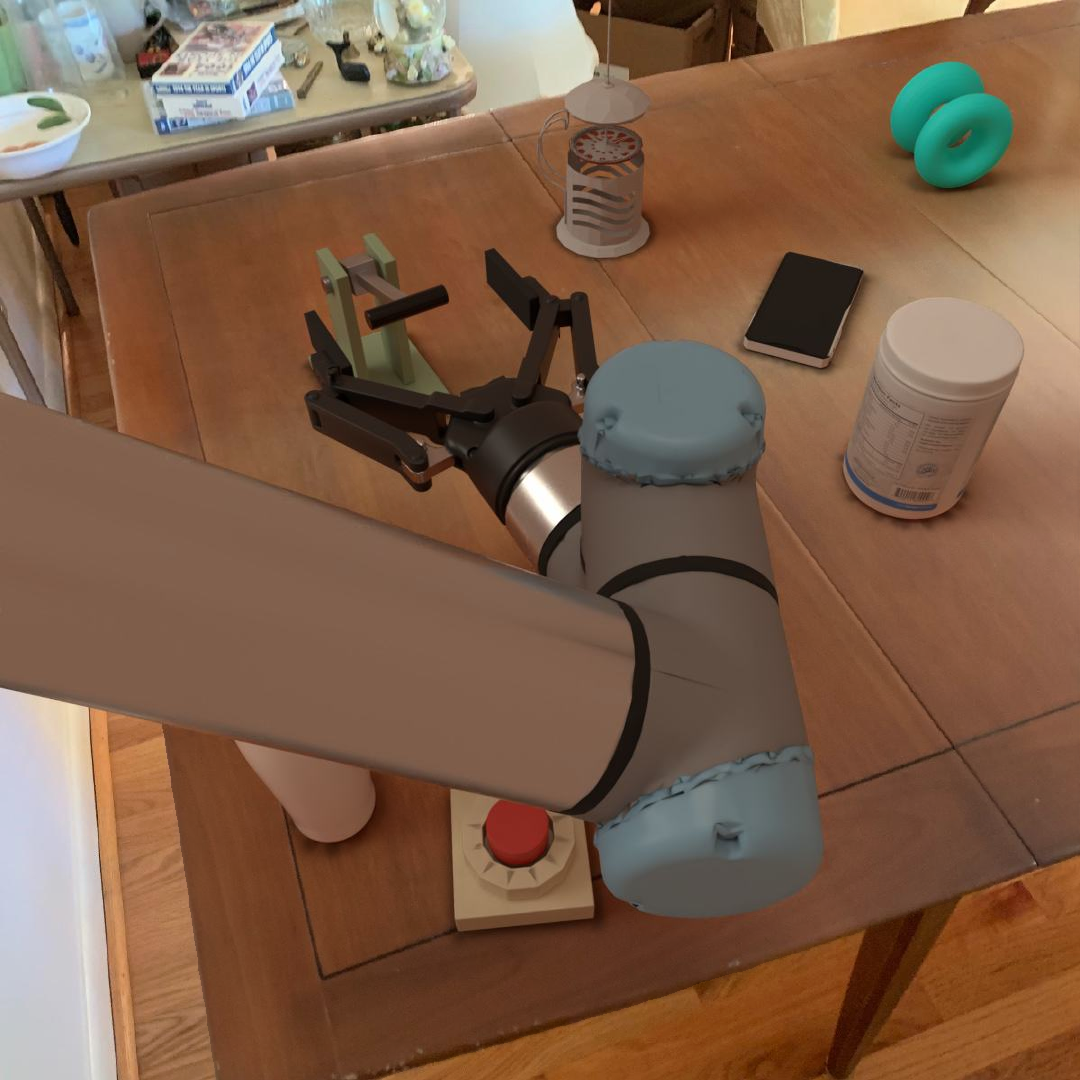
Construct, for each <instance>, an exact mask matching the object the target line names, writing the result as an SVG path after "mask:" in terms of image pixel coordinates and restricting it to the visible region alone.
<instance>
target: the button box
mask: <svg viewBox="0 0 1080 1080" xmlns="http://www.w3.org/2000/svg"><path fill="white" fill-rule="evenodd" d="M449 795H450V800H449V801H450V825H451V852H452V853H451V855H452V879H453V880H452V881H453V883H452V884H453V908H454V909H453V910H454V911H453V912H454V922H455V925H456V929H457V932H469V931H478V930H487V929H497V928H499V929H500V928H508V927H518V926H529V925H536V924H538V925H539V924H548V923H558V922H568V921H577V920H588V919H593V918H594V916H595V900H594V891H593V890H594V889H593V883H592V874H591V866H590V859H589V850H588V843H587V835H586V834H587V833H586V827H585V821H584V820H580V819H577V818H574V817H571V816H568V815H564V814H560V813H555V812H551V811H548V810H545V811H546V813H547V815H548V820H549V841H548V845H547V847H546V849H545V851H544V852H543V853H542V855H541V856H540V857H539V858H537V859H536V860H534V861H533V862H531V863H528V864H525V865H511V864H507V863H505V862H503V861H501V860H500V859H498V858H497V857H496V856H495V855H494V854H493V852H492V851H491V849H490V846H489V843H488V838H487V832H486V819H487V816H488V813H489V811H490V810H491V808H492V807H493V806H494V804H496V803H497V802H498V801H499V800H501V799H497V798H492V797H488V796H483V795H479V794H474V793H470V792H465V791H461V790H456V789H452V788H449Z"/></svg>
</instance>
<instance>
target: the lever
mask: <svg viewBox="0 0 1080 1080" xmlns="http://www.w3.org/2000/svg"><path fill="white" fill-rule="evenodd" d="M337 261H338V263H339V264H340V265H341V267H342V268H343V269H344V271H345V272H346V273H347V275H348V278H349V282H350V287H351V292H352V296H354V297H356V298H357V297H359V296H363V295H366V294H371V295H372V296H373V297H374V296H375V297H376V298H378V299H379V300H381V301H382V302H384V303H385V304H383V305H380V306H377V307H376V306H374V307H372V308H371V307H370V308H369V309H366V310H364V312H363V313H364V314H363V315H364V319H365V322H366V324H367V326H368V328H369V329H370V330H371V331H375V330H379V329H380V328H381V327H384V326H387V325H389V324H392V323H395V322H398V321H401V320H404V319H405V320H406V319H410V318H412V317H415V316H417V315H420V314H423V313H426V312H429V311H432V310H434V309H438V308H440V307H443V306H446V305H448V304H449V303H450V297H449V292H448V290H447V288H446V286H445V285H444V284H443V283H442V284H441V283H440V284H436V285H435V286H432V287H429V288H426V289H423V290H421V291H417V292H415V293H412V294H409V295H408V294H406V293H405V292H403V291H402V290H401V289H400V290H401V291H400V290H399V289H397V288H396V287H394V286H392V285H391V284H389V283H388V282H386V281H385V280H383V279H382V278H380V277H379V276H378V274H377V271H376V267H375V264H374V260H373V259H372V258H370V257H369V256H367V255H366V253H365V252H359V253H356V254H353V255H350V256H346V257H343V258H340V259H337Z"/></svg>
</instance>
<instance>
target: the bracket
mask: <svg viewBox="0 0 1080 1080" xmlns="http://www.w3.org/2000/svg"><path fill="white" fill-rule="evenodd" d="M362 240H363V244H364V245H363V246H364V250H365V254H366V255H367V256H369V257H370V258H372V259H373V260H374V264H375V267H376V271H377V274H378V276H379V277H380V278H382V279H383V280H385V281H386V282H388V283H389V284H391V285H392V286H394V287H396V288H397V289H399V290H400V291H402V290H401V285H400V279H399V271H398V266H397V260H396V258H395V257H394V256H393V255H392V253H391V252H390V251H389V250H388V248H387V247H386V246H385V244H384V243H383V242H382V241H381V240H380V237H379V236H378V235H377V234H376V233H375V232H370V233H367V234H364V235H362ZM315 254H316V258H317V263H318V268H319V272H320V275H321V277H320V283H321V286H322V289H323V292H324V294H325V297H326V301H327V306H328V311H329V314H330V319H331V323H332V328H333V332H334V336H335V341H336V342H337V344H338V345H339V347H340V348H341V350H342V351H343V353H344V354H345V356H346V357H347V358H348V360H349V361H350V363H351V364H352V368H353V372H354V377H356V378H360V379H364V380H369V381H373V382H377V383H381V384H385V385H389V386H393V387H398V388H402V389H406V390H410V391H414V392H418V393H422V394H427V395H431V394H432V393H433V392H435V391H439V392H443V393H447V394H451V393H450V391H449V389H447V387H446V386H445V385H444V383H443V382H442V380H441V379H440V378H439V376H437V374H436V373H435V371H434V370H433V369H432V368H431V366H430V365H429V363H428V362H427V360H425V358H424V356H423V355H422V354H421V353H420V352H419V350H418V348H417V347H416V346H415V344H414V343H413V342H412V341H411V339H410V338H409V335H408V329H407V322H406V319H404V320H401V321H398V322H395V323H392V324H389V325H387V326H384V327H381V328H379V330H378V331H375V332H372V333H369V334H366V335H364V336H361V331H360V327H359V322H358V317H357V312H356V307H355V303H354V302H355V301H354V298H353V297H354V296H353V294H352V292H351V287H350V282H349V278H348V275H347V273H346V272H345V271H344V269H343V268H342V267H341V265H340V264H339V263H338V259H337V258H336V256H335V255H334V254H333V252H332V251H331V250H330V249H329V247H327V246H326V247H323V248H320V249H316V250H315ZM373 299H374V305H375V307H377V306H380V305H383V304H385V303H384V302H382V301H381V300H379V299H378V298H376V297H375V296H374V295H373ZM307 360H308V364H309V366H310V368H311V370H312V371H313V367H312V363H311V354H310V355H308V356H307Z"/></svg>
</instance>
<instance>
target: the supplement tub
mask: <svg viewBox="0 0 1080 1080" xmlns="http://www.w3.org/2000/svg"><path fill="white" fill-rule="evenodd" d="M1024 355H1025V343H1024V340H1023V337H1022V336H1021V334H1020V331H1018V329H1017V328H1016V327H1015V325H1014V324H1013V323H1012V322H1011V321H1009V320H1008V319H1007V318H1006V317H1005V316H1004V315H1002V314H1000V313H999V312H997V311H996V310H995V309H992V308H990V307H988V306H986V305H983V304H980V303H978V302H975V301H971V300H968V299H963V298H958V297H951V296H934V297H933V296H932V297H926V298H920V299H916V300H913V301H911V302H908V303H906V304H904V305H902V306H900V307H899V308H898V309H897V310H896V311H894V312H893V313H892V314H891V316H890V317H889V319H888V321H887V324H886V326H885V329H884V331H883V332H882V334H881V336H880V339H879V343H878V346H877V348H876V352H875V355H874V358H873V361H872V363H871V364H872V365H871V368H870V371H869V375H868V378H867V381H866V385H865V388H864V391H863V393H862V397H861V401H860V404H859V408H858V411H857V414H856V417H855V421H854V422H853V423H854V424H853V427H852V431H851V434H850V437H849V441H848V443H847V447H846V450H845V453H844V457H843V463H842V465H843V466H842V467H843V468H842V469H843V475H844V477H845V481H846V483H847V485H848V487H849V489H850V490H851V491H852V493H853V494H854V495H855V496H856V498H858V500H860V501H861V502H862V503H864V504H865V505H866V506H868V507H870V508H871V509H873V510H874V511H877V512H879V513H881V514H884V515H886V516H890V517H893V518H897V519H904V520H920V519H921V520H922V519H928V518H933V517H936V516H939V515H942V514H943V513H945V512H947V511H949V510H950V509H951V508H952V507H954V505H956V504H957V502H958V501H959V500H960V498H961V497H962V496H963V494H964V492H965V490H966V488H967V486H968V484H969V482H970V479H971V477H972V475H973V472H974V471H975V468H976V467H977V464H978V462H979V460H980V458H981V456H982V453H983V451H984V450H985V447H986V446H987V443H988V441H989V439H990V436H991V434H992V432H993V430H994V428H995V426H996V423H997V421H998V419H999V417H1000V415H1001V413H1002V411H1003V408H1004V406H1005V404H1006V402H1007V400H1008V398H1009V396H1010V394H1011V391H1012V388H1013V387H1014V384H1015V382H1016V380H1017V377H1018V375H1019V372H1020V368H1021V367H1020V366H1021V364H1022V361H1023V360H1024Z"/></svg>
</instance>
